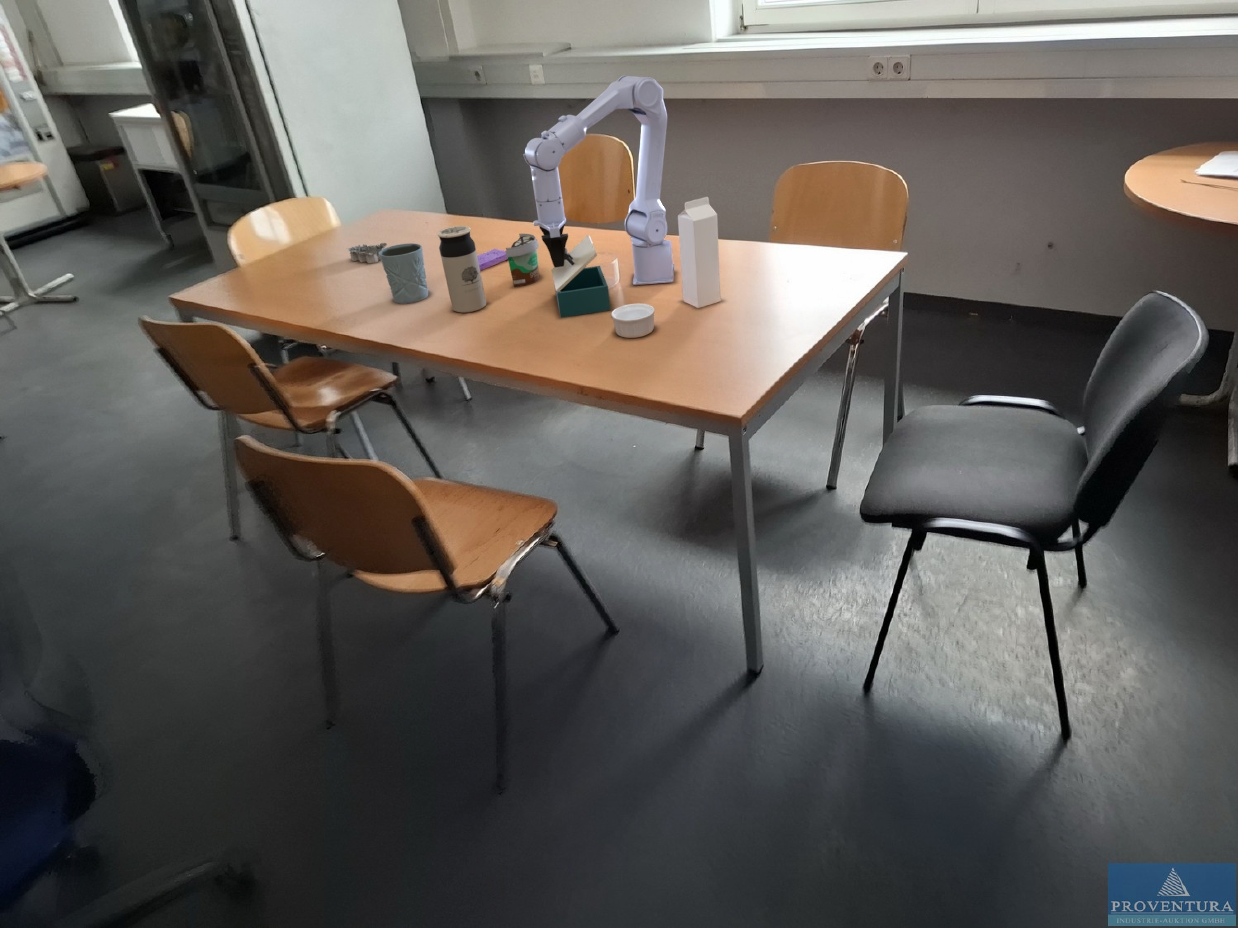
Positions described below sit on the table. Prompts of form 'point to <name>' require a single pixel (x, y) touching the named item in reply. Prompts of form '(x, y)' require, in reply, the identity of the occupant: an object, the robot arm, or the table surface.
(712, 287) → the milk
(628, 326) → the ramekin
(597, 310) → the cool box
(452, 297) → the travel mug
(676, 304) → the table surface
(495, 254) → the sponge
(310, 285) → the table surface
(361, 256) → the egg carton
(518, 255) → the food container
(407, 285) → the blue embossed cup
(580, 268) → the lid
